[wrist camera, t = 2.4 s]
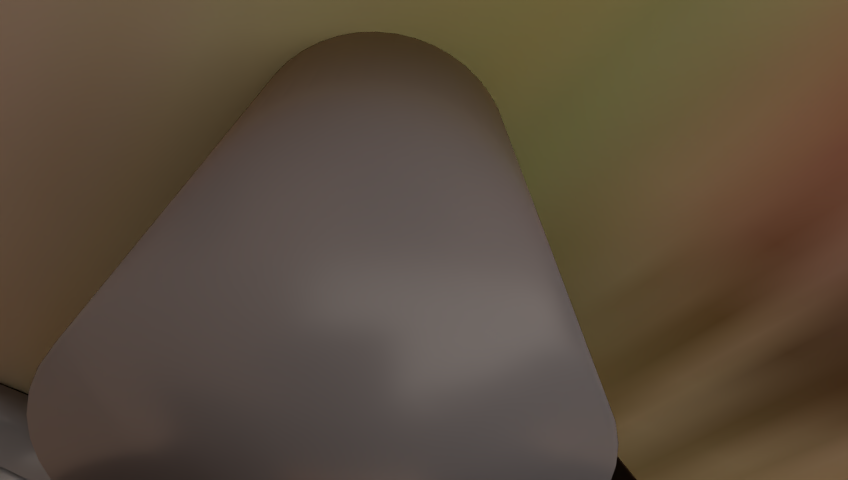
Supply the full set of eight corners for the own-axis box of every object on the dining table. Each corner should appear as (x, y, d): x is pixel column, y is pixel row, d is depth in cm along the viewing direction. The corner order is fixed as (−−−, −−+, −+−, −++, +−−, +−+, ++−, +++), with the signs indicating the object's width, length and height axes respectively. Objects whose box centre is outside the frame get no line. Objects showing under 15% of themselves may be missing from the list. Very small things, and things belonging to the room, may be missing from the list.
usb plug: (527, 36, 7) (709, 272, 2) (459, 504, 14) (477, 766, 9) (223, 26, 6) (-121, 254, 2) (315, 503, 13) (269, 767, 9)
